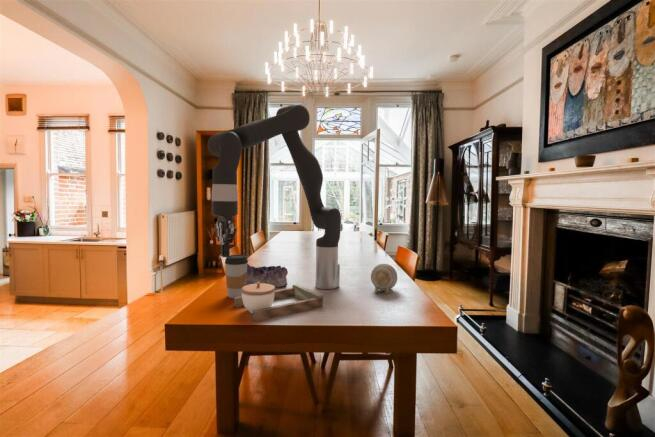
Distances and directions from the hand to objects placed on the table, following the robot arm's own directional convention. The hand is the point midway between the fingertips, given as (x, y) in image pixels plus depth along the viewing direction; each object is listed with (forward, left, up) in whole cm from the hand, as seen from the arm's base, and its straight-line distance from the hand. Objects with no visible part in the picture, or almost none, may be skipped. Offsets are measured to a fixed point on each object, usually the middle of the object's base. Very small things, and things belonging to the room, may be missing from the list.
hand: (225, 256), depth 101 cm
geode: (-26, -27, -19) cm, 42 cm away
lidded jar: (-11, 0, -19) cm, 22 cm away
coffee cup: (-11, -19, -19) cm, 29 cm away
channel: (-19, 0, -19) cm, 27 cm away
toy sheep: (-63, +7, -19) cm, 66 cm away
